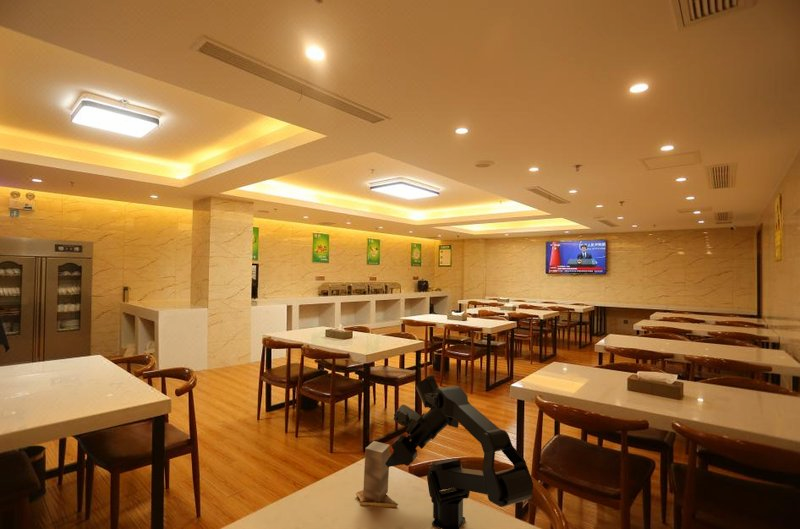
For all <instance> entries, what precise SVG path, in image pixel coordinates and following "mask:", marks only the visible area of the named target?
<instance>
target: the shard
mask: <svg viewBox="0 0 800 529" xmlns="http://www.w3.org/2000/svg"><path fill="white" fill-rule="evenodd" d="M355 495H356V497H358V498H359V500H360V502H359V505H360V506H375V507H386V508H397V507H398V505H399V504H398V503H397V502H396V501H394V500H393V499H392V498H391V497H390V496H389V495H388V494H386V495H385V496H384V497H383V498H382V500H381V501H380V502H379V501H376V500H372V499H369V498H366V497H363V490H359V491H357V492H355Z"/></svg>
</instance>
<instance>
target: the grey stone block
mask: <svg viewBox="0 0 800 529" xmlns="http://www.w3.org/2000/svg"><path fill="white" fill-rule="evenodd" d="M390 450H391V444H387V443H385V442H379V441H375V440H373V441H372V442H371V443H370V444H368V446H366V447H365V453H364V468H363V469H364V472H363V473H364V474H363V497H366V498H369V499H372V500H376V501H379V502H380V501H381V500H382V498H383V497H384V496H385V495H388V492H389V478H390V477H389V474H390V473H389V472H390V471H389V470H390V467H387V466H386V464H385V463H386V461H387V460H388V459H389V457H390V456H391V454H390V453H391V452H390Z"/></svg>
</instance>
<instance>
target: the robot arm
mask: <svg viewBox="0 0 800 529" xmlns="http://www.w3.org/2000/svg"><path fill="white" fill-rule="evenodd" d="M415 388H416V392H417V393H418V395H419V398H420V400H421V403H422V404H423V407H424V408H425V409H426V408H429V410H428V411H426V412H425V413H422V414H421V415H420V414H419V413H418V412H417V411H415V410H414V409H412V408H411V407H410V406H407V405H406V404H401V405H400V406H399V407H398V408H397V410H396V412H395V413H394V414H393V416H394V417H393V421H395V423H397V424H398V425H400V426H401V427H405V428H406V430H405V432H406V433H407V436H406V435H400V436H399V437H398V438H396V439H395V440H394V442H392V444H390V447H391V448H392V450H393V451H392V453H391V454H390V455H389V459H388V460H387V461H386V463H385V464H386V466H387V467H389V468H390V467H396V466H403V465H404V466H406V467H409V466H410V465H411V464H412V463H413V462H414V461H415V459H417V457H418V449H417V447H419V448H420V450H422V449H423V448H425V446H426V445H427V444H428V443H429V442H430V441H432V440H434V439H435V438H436V437H437V435H438V434H440V433H441V431H443V430H444V429H445V428H446V427H452V428H456V429H458V428H459V426H460V425H461V426H462V427H463V428H464V429H465V430H466V431H467V432H468V433H469V434H470V435H471V436H472V437H473V438H474V439H475V440H476V441H477V442H479V443H480V445H481V448H482V451H483V460H482V461H483V462H482V470H480V469H471V468H463V466H462V464H461V463H462V462H461V459H455V458H449V459H444V460H439V461H435V462H432V463H431V465H429V468H428V470H429V471H427V473H426V474H427V475H426V479H427V486H428V487H427V488H428V494H429V497H430V499H431V500H430V501H431V503H432V518H433V520H432V522H431V526H433V527H436V528H438V529H441V528H442V529H461V527H462V526H463V525H464V523H465V521H466V517H465V516H464V500H465V499H469V496H470V493H471V492H473V493H477V494H481V495H487V499H488V501H489V502H490V503H492V504H494V505H496V506H498V507H500V508H503V507H504V508H505V507H508V506H510V505H514V504H518V503H521V502H524V501H527V500H530V499H531V498H533V494H534V493H533V489H534V482H533V478H532V476H531V473H530V471H529V468H528V466H527V462H526V460H525V458H524V457H523V456H522V455H521V453H520V452H519V451H518V450H517V449H516V448H515V446H513V443H512V441H511V438H510V436H509V434H508V432H507V431H506V430H505V429H502V428H500V427H498V426H497V425H496V424H495V423H493V422H492V421H491V420H490V419H488V418H487V417H486V416H485V415H484V414H483V413H482V412H481V411H480V410H478V409H477V408H476V407H475V406H473V405H472V404H471V403H470V402H469V400H468V399H469V398H468V396H469V395H468V394H467V393H466V392H465V391H464V390H463V388H462V387H461V386H459V385H452V386H451V385H450V386H444V387H439V385H438V384H437V381H436V379H435V376H434V375H427V376H425V378H424V379H422V380H420V381H419V382H418V383H417V384H416V387H415ZM496 452H502V453H503V454H504V456H506V457H507V459H508V460H509V462H511V464H512V466H513V468H507V469H504V470H500V471H496V470H495V458H496V456H495V455H496Z"/></svg>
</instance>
